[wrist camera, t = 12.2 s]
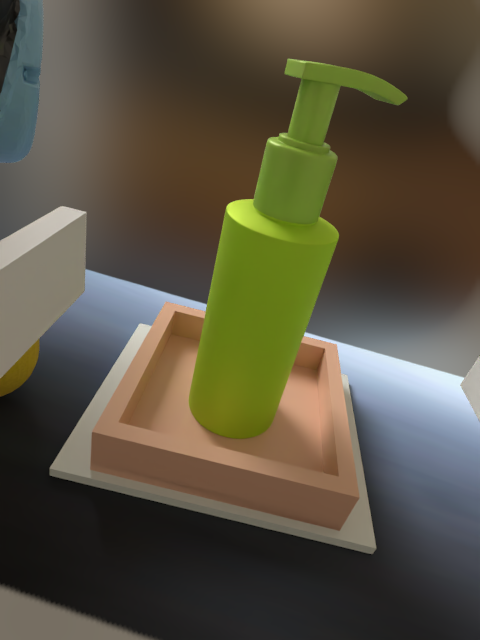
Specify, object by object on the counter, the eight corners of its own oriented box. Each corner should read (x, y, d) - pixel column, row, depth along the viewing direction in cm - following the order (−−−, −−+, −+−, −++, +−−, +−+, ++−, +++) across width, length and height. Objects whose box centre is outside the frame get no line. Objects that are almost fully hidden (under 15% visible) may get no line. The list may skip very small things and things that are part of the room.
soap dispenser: (301, 433, 27) (444, 91, 17) (199, 443, 25) (292, 49, 14) (270, 373, 32) (366, 75, 21) (180, 377, 29) (240, 42, 19)
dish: (90, 469, 23) (91, 431, 21) (161, 332, 35) (165, 301, 33) (339, 530, 23) (359, 497, 21) (324, 373, 35) (336, 344, 33)
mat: (49, 475, 22) (49, 468, 22) (139, 329, 35) (139, 323, 35) (372, 554, 23) (376, 548, 22) (344, 380, 35) (347, 375, 35)
